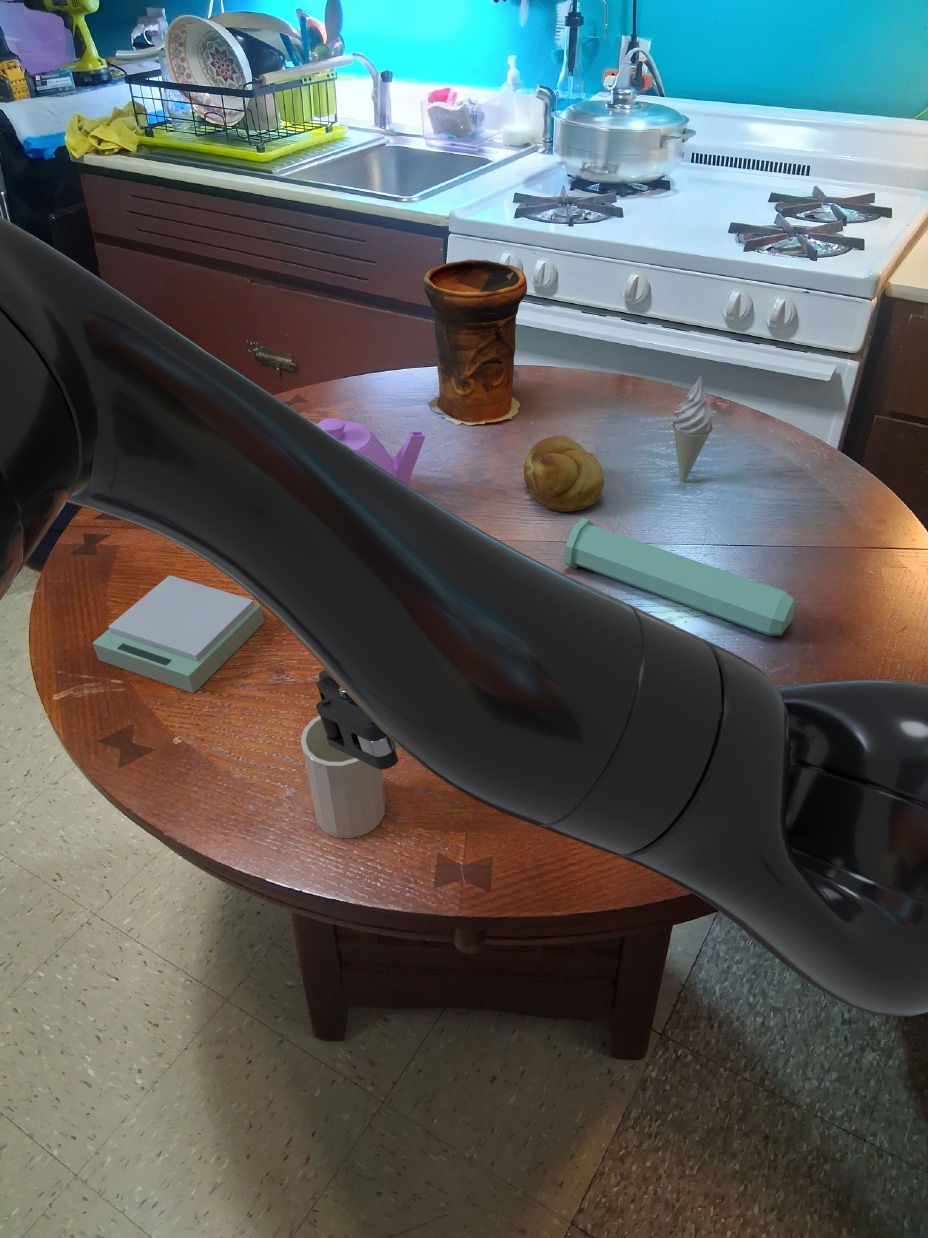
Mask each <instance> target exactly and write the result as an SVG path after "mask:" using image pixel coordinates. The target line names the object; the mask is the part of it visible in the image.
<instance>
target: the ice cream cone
mask: <svg viewBox="0 0 928 1238" xmlns="http://www.w3.org/2000/svg"><path fill="white" fill-rule="evenodd" d="M685 399H686V400H685V401H684V402H682V403H680V404H678V405H677V407H678V408H679V410H674V412H673V415H674V416H676V418H675V419H673V420H672V424H671V426H672V429H673V435H674V442H675V450H676V457H677V464H678V472H679V477H680V483H681V484H684V483H686V480H687V479H688V477H689V475H690V473H691V471H692V469H693V467H694V465H695V464H696V461H697V459H698V458H699V456H700V453H701V452H702V449H703V448H704V446H705V443H706V441H707V439H708V438H709V435H710V434H711V433H712V432H713V430H714V428H713V422H714V417H715V414H714V411H713V409H712V406H710V405H709V403H708V399H709V395H708V394H707V392H706V390H705V387H704V382H703V378H702V375H701V374H700V375H699V377H698V378H697V380H696V381H695V383H694V384H693V386H692V387H691V388H690V390H689V391H688V392H687V394H686V395H685Z"/></svg>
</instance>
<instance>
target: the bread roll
mask: <svg viewBox="0 0 928 1238" xmlns="http://www.w3.org/2000/svg"><path fill="white" fill-rule="evenodd" d="M523 478H524V482H525V485H526V487H527V489H528V491H529V493H530V494H531V496H532V497H533V498H534V500H535V501H536V502H537V503H539V505H540V506H542V507H544V508H546V509H549V510H552V511H555V512H564V513H565V512H575V511H580V510H583V509H584V508H588V507H590V506H591V505H592V504H595V503H596V502H597V501H598V500H599V498H600V497H601V495H602V493H603V490H604V486H605V474H604V470H603V466H601V463H600V462H599V461H598V459H597V458H596V457H595V456H594V454H593V453H591V452H588V451H586V450H585V448H584V447H583V445H581V444H580V443H578V442H577V441H575V440H573V439H572V438H570V437H568V436H566V435H554V436H550V437H546V438H542V439H540V440H539V441H537V442H536V443H535V444H534V445H532V446H531V448H530V449H529V451H528V452H527V454H526V456H525V460H524V464H523Z"/></svg>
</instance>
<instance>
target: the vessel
mask: <svg viewBox="0 0 928 1238" xmlns="http://www.w3.org/2000/svg"><path fill="white" fill-rule="evenodd" d="M423 290H424V293H425V295H426V297H427V299H428V302H429V304H430V308H431V310H432V314H433V321H434V334H435V335H434V336H435V343H436V344H435V359H436V360H435V361H436V367H437V374H438V389H439V395H438V396H434V399H432V400H430V401H428V402H427V403H428V405H429V406H430V408H431V409H432V411H434V412H435V413H438V414H442V415H441V417H442V418H444V421H449V422H451V423H453V424H454V425H456V426H458V425H461V424H464V425H467V426H474V425H477V424H478V425H485V424H486V423H498V422H502V421H506V420H513V418H512V417H514V416H516V415H517V414H518V413H519V412H520V411H519V408H520V406H521V403H520V401H518V400H517V399H515V397H514V396H513V386H514V385H513V383H514V376H515V375H514V374H515V355H516V329H517V314H518V313H519V307H520V305H521V303H522V302H523V300H524V299H525V297H526V295H527V292H528V280H527V277H526V275H525V273H524V272H523V271H522V270H521V268H519V267H518V266H517V267H516V266H514V265H512V264H503V263H500V262H495V261H491V260H488V259H471V258H470V259H465V260H460V261H452V262H447V263H444V264H442V265H440V266H436V267H433V268H431V269H430V270H428V271H427V272H426V274H425V275H424V278H423Z"/></svg>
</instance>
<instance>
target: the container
mask: <svg viewBox="0 0 928 1238" xmlns="http://www.w3.org/2000/svg"><path fill="white" fill-rule="evenodd" d="M569 533H570V534H569V536H568V538H567V541H566V543H565V545H564V554H563V563H564V564H565V565H567V567H569V568H571V569H575V570H576V569H577V568H578V567H580V568H583V569H586V570H588V571H590V572H594V573H597V574H600V575H603V576H605V577H608V578H610V579H613V580H616V581H618V582H621V583H624V584H627V585H630V586H632V587H635V588H637V589H640V590H643V591H646V592H649V593H651V594H654V595H657V596H659V597H662V598H665V599H667V600H670V601H673V602H676V603H678V604H681V605H684V606H687V607H689V608H691V609H695V610H697V611H700V612H702V613H706V614H709V615H711V616H714V617H716V618H720V619H723V620H725V621H727V622H730V623H732V624H736V625H739V626H741V627H744V628H747V629H750V630H752V631H755V632H756V633H761V634H763V635H765V636H769V637H771V636H772V637H773V636H775V637H776V636H782V635H783V634H784V632H785V630H786V629H787V628H788V626H789V625H790V624H791V622H792V621H793V620H794V611H795V603H796V601H795V598H793V597H792V596H791V595H790V594H789V593H788V592H787V591H785V590H782V589H780V588H776V587H773V586H770V585H768V584H764V583H762V582H758V581H756V580H753V579H750V578H747V577H745V576H741V575H739V574H736V573H732V572H730V571H726V570H724V569H721V568H718V567H715V566H712V565H710V564H706V563H703V562H700V561H697V560H694V559H692V558H688V557H686V556H683V555H679V554H677V553H674V552H671V551H668V550H665V549H662V548H660V547H658V546H657V547H656V546H654V545H651V544H648V543H645V542H642V541H640V540H636V539H633V538H631V537H628V536H625V535H622V534H618V533H616V532H614V531H610V530H608V529H605V528H601V527H599V526H596V525H594V523H593V522H592V521H591V520H590V519H587V518H585V517H581V518H580V519H579V520H578V521H577V523H576V524H574V525H573V526H572V529H571V531H570V532H569Z"/></svg>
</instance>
